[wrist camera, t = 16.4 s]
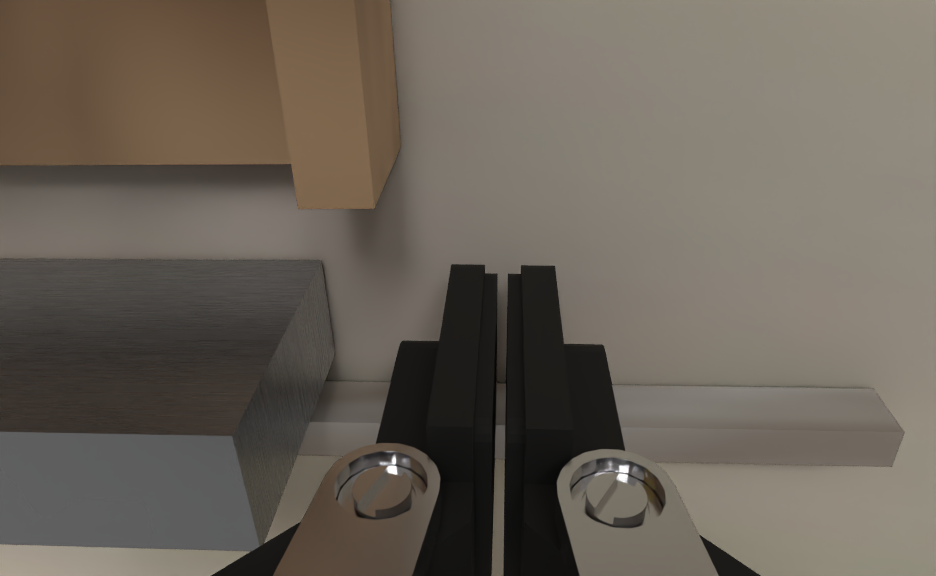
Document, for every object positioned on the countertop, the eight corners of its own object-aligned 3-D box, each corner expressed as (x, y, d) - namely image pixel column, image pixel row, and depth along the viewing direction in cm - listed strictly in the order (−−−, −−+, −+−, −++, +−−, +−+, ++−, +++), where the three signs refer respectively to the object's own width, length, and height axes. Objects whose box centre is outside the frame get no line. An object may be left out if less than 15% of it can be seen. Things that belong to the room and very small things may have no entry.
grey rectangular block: (-168, 258, 13) (-469, 423, 9) (321, 260, 12) (232, 435, 8) (-120, 349, 14) (-371, 534, 10) (334, 355, 13) (261, 551, 9)
